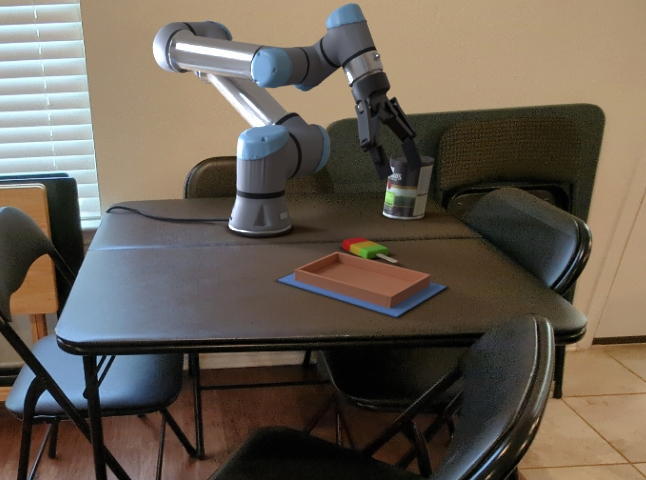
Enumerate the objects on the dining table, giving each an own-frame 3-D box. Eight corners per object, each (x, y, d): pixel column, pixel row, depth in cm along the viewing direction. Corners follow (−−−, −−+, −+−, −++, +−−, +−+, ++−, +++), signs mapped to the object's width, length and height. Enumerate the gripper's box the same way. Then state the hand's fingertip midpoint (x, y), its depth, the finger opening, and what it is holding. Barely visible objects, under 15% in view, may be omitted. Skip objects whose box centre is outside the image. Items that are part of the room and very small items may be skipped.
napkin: (277, 281, 114) (278, 279, 114) (331, 258, 125) (331, 256, 125) (396, 317, 98) (397, 316, 98) (446, 287, 108) (446, 286, 108)
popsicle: (359, 244, 132) (360, 236, 131) (406, 264, 120) (408, 255, 119) (339, 248, 130) (340, 239, 130) (385, 269, 118) (386, 260, 117)
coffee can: (392, 221, 147) (401, 163, 141) (376, 210, 156) (383, 155, 150) (432, 218, 148) (442, 160, 141) (413, 208, 157) (422, 153, 150)
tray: (293, 281, 114) (294, 269, 112) (335, 263, 122) (336, 251, 121) (389, 310, 101) (391, 296, 99) (428, 287, 109) (431, 274, 108)
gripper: (350, 71, 115) (389, 172, 116) (410, 68, 130) (444, 158, 131) (320, 92, 121) (357, 188, 122) (381, 87, 136) (414, 173, 137)
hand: (402, 173), depth 126 cm, fingers open, 13 cm apart
